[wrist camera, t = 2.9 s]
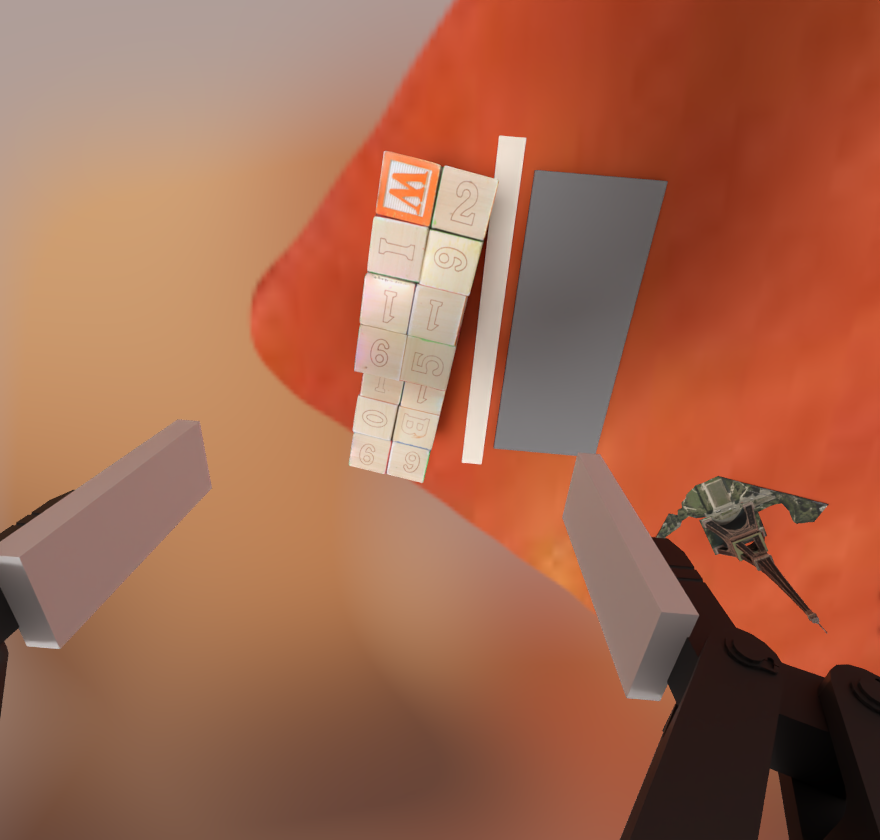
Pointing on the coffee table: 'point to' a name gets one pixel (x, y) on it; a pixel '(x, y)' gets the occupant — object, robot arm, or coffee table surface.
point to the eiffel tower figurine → (743, 523)
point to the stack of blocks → (414, 307)
